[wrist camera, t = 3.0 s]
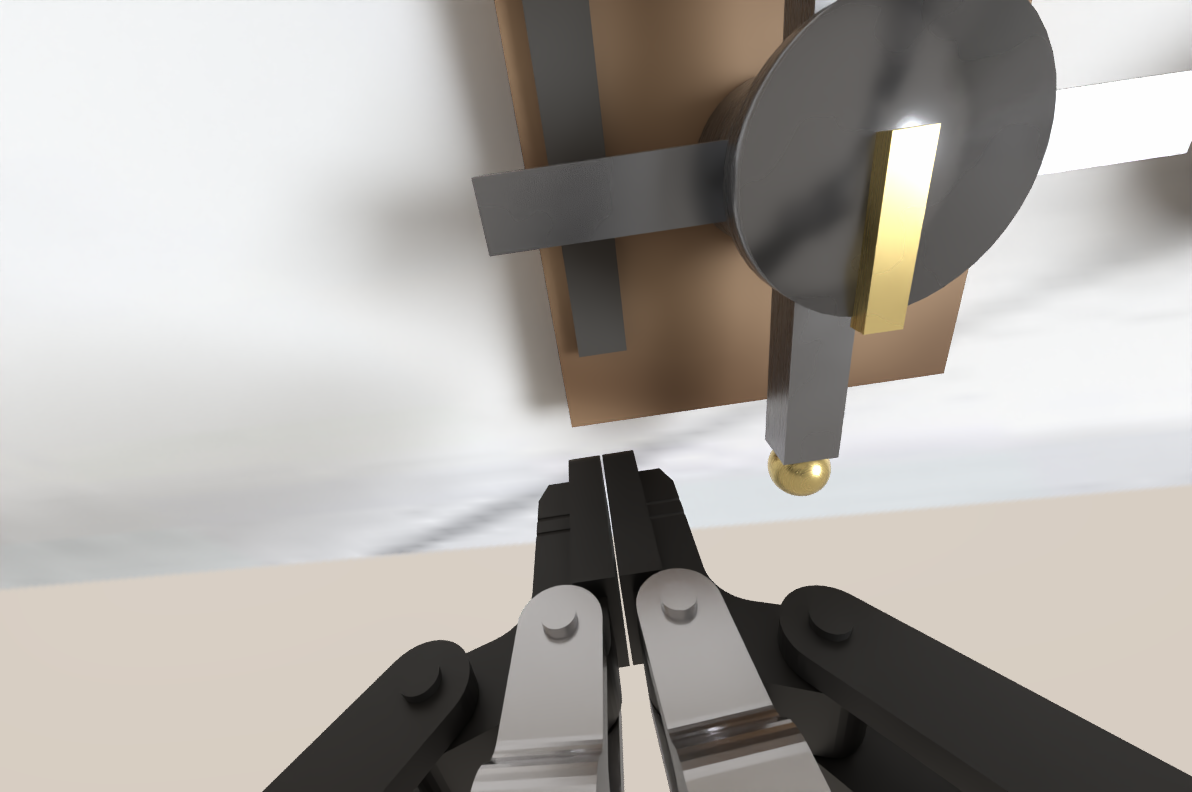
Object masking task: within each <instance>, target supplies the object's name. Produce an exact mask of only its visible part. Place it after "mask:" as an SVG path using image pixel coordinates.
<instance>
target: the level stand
mask: <svg viewBox="0 0 1192 792" xmlns="http://www.w3.org/2000/svg"><path fill="white" fill-rule="evenodd" d="M1028 1H1029V2H1030V3H1031V2H1032V0H1028ZM494 2H495V7H496V13H497V18H498V24H499V29H500V35H501V40H502V45H503V51H504V56H505V62H506V67H507V73H508V78H509V84H510V89H511V95H512V100H513V106H514V111H515V117H516V122H517V128H518V133H519V139H520V144H521V150H522V155H523V161H524V166H525V169H528V168H535V167H542V166H549V165H555V164H562V163H569V162H575V161H582V160H589V159H596V158H602V157H609V156H616V155H622V154H629V153H636V152H643V151H649V150H656V149H663V148H670V147H676V146H683V145H690V144H696V143H698V141H699V138H700V136H701V133H702V131H703V128H704V126H705V124H706V122H707V120H708V119H709V117H710V116H711V114H712V112H713V111H714V109H715V108H716V107H717V106H718V104H719V103H720V102H721V101H722V100H723V99H724V98H725V97H726V96H727V95H728V94H729V93H730V92H731V91H732V90H734V89H735V88H736V87H738V86H739V85H740V84H742V83H744V82H745V81H747V80H749V79H751V78H753V77H755V76H757V74H758V73H759V71H760V70H761V68H762V67H763V66H764V64H765V63H766V61H767V60H768V59H769V57H770V56H771V55H772V54H773V53H774V51H775V50H776V49H777V48H778V47H779V46H780V44H781V43H782V42H783V25H784V2H785V0H494ZM540 254H541V259H542V265H543V270H544V276H545V281H546V287H547V292H548V298H549V303H550V309H551V314H552V320H553V325H554V331H555V336H556V342H557V347H558V353H559V358H560V364H561V369H562V375H563V380H564V386H565V391H566V397H567V402H568V408H569V413H570V419H571V424H572V427H578V426H585V425H592V424H598V423H605V422H612V421H619V420H626V419H633V418H640V417H646V416H653V415H660V414H667V413H674V412H681V411H688V410H695V409H701V408H708V407H715V406H722V405H729V404H736V403H743V402H749V401H756V400H763V399H767V389H768V366H769V343H770V320H771V298H772V288H771V287H770V286H769V285H767V284H766V283H765V282H763V281H762V280H761V279H760V278H759V277H758V276H757V275H756V274H755V273H754V272H753V271H752V270H751V269H750V268H749V267H748V265H747V264H746V262H745V261H744V259H743V258H742V257H741V255H740V253H739V251H738V249H737V247H736V245H735V243H734V241H733V239H732V237H731V236H729V235H727V234H725V233H723V232H722V231H721V230H720V229H718V228H717V227H716V226H715V225H714V224H713V223H711V224H704V225H698V226H691V227H684V228H677V229H671V230H664V231H657V232H650V233H644V234H637V235H630V236H623V237H617V238H610V239H603V240H596V241H590V242H583V243H576V244H569V245H562V246H556V247H549V248H542V249H540ZM967 273H968V269H967V270H966V271H965V272H964V273H962V274H961V275H960V276H959V277H957V278H956V279H955V280H953V281H952V282H950V283H949V284H948V285H946V286H945V287H943V288H942V289H940V290H938V291H937V292H935V293H933V294H931V295H930V296H928V297H926V298H924V299H922V300H920V301H918V302H915V303H913V304H911V305H909V306H907V311H906V316H905V322H904V327H903V329H901V330H894V331H887V332H880V333H873V334H866V335H863V334H861V333H860V332H858V331H856V330H855V335H854V343H853V350H852V358H851V365H850V373H849V380H848V387H852V386H859V385H866V384H873V383H880V382H887V381H894V380H901V379H907V378H914V377H921V376H928V375H935V374H942V373H944V370H945V366H946V361H947V357H948V353H949V349H950V344H951V340H952V336H953V332H954V328H955V323H956V319H957V315H958V311H959V306H960V302H961V298H962V294H963V290H964V285H965V281H966V277H967Z"/></svg>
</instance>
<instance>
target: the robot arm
mask: <svg viewBox="0 0 1192 792" xmlns="http://www.w3.org/2000/svg"><path fill="white" fill-rule="evenodd" d="M602 457H603V464H604V471H605V478H606V486H607V493H608V500H609V507H610V514H611V522H612V529H613V536H614V543H615V550H616V557H617V565H618V572H619V578H620V584H621V591H622V598H623V604H624V610H625V616H626V623H627V629H628V635H629V642H630V648H631V654H632V661H633V665H637V664H644V669H645V675H646V680H647V687H648V693H649V700H650V707H651V713H652V717H653V721H654V725H655V729H656V733H657V738H658V742H659V746H660V751H661V755H662V759H663V763H664V767H665V772H666V776H667V780H668V784H669V789H670V792H1192V776H1190V775H1188V774H1186V773H1184V772H1182V771H1181V770H1179V769H1177V768H1175V767H1173V766H1171V765H1169V764H1167V763H1165V762H1164V761H1162V760H1160V759H1158V758H1156V757H1154V756H1152V755H1151V754H1149V753H1147V752H1145V751H1143V750H1141V749H1139V748H1137V747H1136V746H1134V745H1132V744H1130V743H1128V742H1126V741H1124V740H1122V739H1121V738H1119V737H1117V736H1115V735H1113V734H1111V733H1109V732H1107V731H1105V730H1104V729H1101V728H1100V727H1098V726H1096V725H1094V724H1092V723H1091V722H1089V721H1087V720H1085V719H1083V718H1081V717H1079V716H1077V715H1076V714H1074V713H1072V712H1070V711H1068V710H1066V709H1064V708H1062V707H1060V706H1059V705H1057V704H1055V703H1053V702H1051V701H1049V700H1047V699H1045V698H1044V697H1042V696H1040V695H1038V694H1036V693H1034V692H1032V691H1031V690H1029V689H1027V688H1025V687H1023V686H1021V685H1019V684H1017V683H1016V682H1014V681H1012V680H1010V679H1008V678H1006V677H1004V676H1002V675H1001V674H999V673H997V672H995V671H993V670H991V669H989V668H987V667H985V666H984V665H982V664H980V663H978V662H976V661H974V660H972V659H971V658H969V657H967V656H965V655H963V654H961V653H959V652H957V651H955V650H954V649H952V648H950V647H948V646H946V645H944V644H942V643H940V642H939V641H937V640H935V639H933V638H931V637H929V636H927V635H925V634H924V633H922V632H920V631H918V630H916V629H914V628H912V627H910V626H908V625H907V624H905V623H903V622H901V621H899V620H897V619H895V618H893V617H892V616H890V615H888V614H886V613H884V612H882V611H880V610H878V609H877V608H874V607H873V606H871V605H869V604H867V603H865V602H864V601H862V600H860V599H858V598H856V597H854V596H852V595H850V594H848V593H846V592H844V591H842V590H839V589H836V588H831V587H827V586H818V585H817V586H816V585H815V586H806V587H801V588H799V589H796V590H794V591H793V592H791V593H789V594H788V595H787V597H785V599H784V601H783V602H782V604H781V605H778V604H771V603H763V602H756V601H750V600H745V599H741V598H738V597H735V596H733V595H731V594H729V593H727V592H725V591H724V590H722V589H721V588H719V587H718V586H717V585H716V584H715V583H714V582H713V581H712V580H711V579H710V578H709V576H708V575H707V573H706V571H705V569H704V567H703V564H702V562H701V559H700V556H699V553H698V550H697V547H696V545H695V541H694V539H693V536H692V533H691V530H690V527H689V524H688V522H687V519H686V516H685V515H684V510H683V507H682V505H681V502H680V500H679V496H678V493H677V490H676V488H675V485H674V482H673V480H672V479H670V478H669V477H668V476H667V475H666V474H665V473H664V472H663V471H662V470H660V469H659V468H658V469H652V470H645V471H638V468H637V464H636V460H635V456H634V452H633V450H631V451H624V452H618V453H611V454H604V455H602ZM626 666H630V665H629V658H628V650H627V643H626V635H625V628H624V620H623V613H622V606H621V599H620V591H619V584H618V576H617V569H616V561H615V554H614V546H613V539H612V532H611V525H610V518H609V511H608V505H607V499H606V492H605V486H604V480H603V473H602V467H601V461H600V455H599V456H592V457H585V458H579V459H572V460H569V482H566V483H560V484H553V485H549V486H548V487H547V489H546V491H545V492H544V494H543V496H542V497H541V499H540V500H539V506H538V522H537V537H536V551H535V565H534V580H533V593H532V599H531V600H530V601H529V603H528V604H527V605H526V606H525V608H524V609H523V611H522V613H521V615H520V617H519V621H518V624H517V625H516V626H515V627H514V628H512V629H511V630H510V631H509V632H508V633H506V634H504V635H503V636H501V637H499V638H498V639H496V640H494V641H492V642H489V643H487V644H485V645H483V646H481V647H479V648H477V649H474V650H473V651H470V652H468V653H465V651H464V650H463V649H462V648H461V647H460V646H459V645H457V644H456V643H454V642H450V641H445V640H437V641H431V642H426V643H424V644H421V645H418V646H416V647H414V648H413V649H411V650H409V651H408V652H406V653H405V654H403V655H402V656H401V657H400V658H399V659H398V660H396V661H395V662H394V663H393V664H392V665H391V666H390V667H389V668H388V669H387V670H386V671H385V672H384V673H383V674H382V675H381V676H380V677H379V678H378V679H377V680H376V681H375V682H374V683H373V684H372V685H371V686H370V687H369V688H368V689H367V690H366V691H365V692H364V693H363V694H362V695H361V696H360V697H359V698H358V699H357V700H356V701H354V702H353V704H351V705H350V706H349V707H348V709H346V710H345V711H344V712H343V713H342V714H341V715H340V716H339V717H338V718H337V719H336V720H335V721H334V722H333V723H332V724H331V725H330V726H329V727H328V728H327V729H326V730H325V731H324V732H323V733H322V734H321V735H320V736H319V737H318V738H317V739H316V740H315V741H314V742H313V743H312V744H311V745H310V746H309V747H308V748H306V749H305V750H304V751H303V752H302V754H300V755H299V756H298V757H297V758H296V759H295V760H294V761H293V762H292V763H291V764H290V765H289V766H288V767H287V768H286V769H285V770H284V771H283V772H282V773H281V774H280V775H279V776H278V777H277V778H276V779H275V780H274V781H273V782H272V783H271V784H270V785H269V786H268V787H267V788H266V789H265V790H264V791H263V792H624V771H623V770H624V769H623V743H622V716H621V703H622V694H621V685H620V676H619V667H626Z"/></svg>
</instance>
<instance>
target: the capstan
mask: <svg viewBox="0 0 1192 792" xmlns="http://www.w3.org/2000/svg"><path fill="white" fill-rule="evenodd" d="M1191 141H1192V70H1190V71H1183V72H1175V73H1168V74H1161V75H1154V76H1147V77H1140V78H1133V79H1126V80H1120V81H1113V82H1106V83H1099V84H1093V85H1086V86H1079V87H1073V88H1066V89H1059V90H1056V69H1055V63H1054V56H1053V50H1052V47H1051V44H1050V41H1049V37H1048V34H1047V31H1046V29H1045V27H1044V25H1043V23H1042V21H1041V19H1040V17H1039V15H1038V13H1037V11H1036V10H1035V9H1034V7H1033V6H1032V5H1031V3H1030V2H1029V1H1028V0H785V2H784V25H783V42H782V43H781V44H780V46H779V47H778V48H777V49H776V50H775V51H774V53H773V54H772V55H771V56H770V57H769V59H768V60H767V61H766V63H765V64H764V66H763V67H762V68H761V70H760V71H759V73H758V74H757V76H755V77H753V78H751V79H749V80H747V81H745V82H744V83H742V84H740V85H739V86H738V87H736V88H735V89H734V90H732V91H731V92H730V93H729V94H728V95H727V96H726V97H725V98H724V99H723V100H722V101H721V102H720V103H719V104H718V106H717V107H716V108H715V109H714V111H713V112H712V114H711V116H710V117H709V119H708V120H707V122H706V124H705V126H704V128H703V131H702V133H701V136H700V138H699V141H698V143H696V144H690V145H683V146H676V147H670V148H663V149H656V150H649V151H643V152H636V153H629V154H622V155H616V156H609V157H602V158H596V159H589V160H582V161H575V162H569V163H562V164H555V165H549V166H542V167H535V168H528V169H522V170H515V171H508V172H502V173H495V174H488V175H482V176H477V177H473V178H472V182H473V186H474V190H475V195H476V199H477V203H478V208H479V212H480V216H481V220H482V225H483V229H484V233H485V238H486V242H487V246H488V251H489V255H490V256H495V255H502V254H508V253H515V252H522V251H529V250H535V249H542V248H549V247H556V246H562V245H569V244H576V243H583V242H590V241H596V240H603V239H610V238H617V237H623V236H630V235H637V234H644V233H650V232H657V231H664V230H671V229H677V228H684V227H691V226H698V225H704V224H711V223H713V224H714V225H715V226H716V227H717V228H718V229H720V230H721V231H722V232H723V233H725V234H727V235H729V236H731V237H732V239H733V241H734V243H735V245H736V247H737V249H738V251H739V253H740V255H741V257H742V258H743V259H744V261H745V262H746V264H747V265H748V267H749V268H750V269H751V270H752V271H753V272H754V273H755V274H756V275H757V276H758V277H759V278H760V279H761V280H762V281H763V282H765V283H766V284H767V285H769V286H770V287H771V288H772V298H771V320H770V343H769V366H768V389H767V411H766V434H765V440H766V441H767V442H768V444H769V445H770V447H771V448H772V449H773V450H772V452H771V453H770V456H769V459H768V471H769V475H770V477H771V479H772V481H773V482H774V483H775V485H776V486H777V487H779V488H780V489H781V490H783V491H784V492H786V493H788V494H791V495H796V496H807V495H811V494H814V493H816V492H818V491H819V490H821V489H822V488H823V487H824V486H825V485H826V483H827V481H828V479H829V477H830V473H831V464H830V460H829V459H830V458H837V457H838V455H839V448H840V440H841V433H842V425H843V418H844V410H845V403H846V395H847V388H848V380H849V373H850V365H851V358H852V350H853V343H854V335H855V330H856V331H858V332H860V333H861V334H863V335H866V334H873V333H880V332H887V331H894V330H901V329H903V327H904V322H905V316H906V311H907V306H909V305H911V304H913V303H915V302H918V301H920V300H922V299H924V298H926V297H928V296H930V295H931V294H933V293H935V292H937V291H938V290H940V289H942V288H943V287H945V286H946V285H948V284H949V283H950V282H952V281H953V280H955V279H956V278H957V277H959V276H960V275H961V274H962V273H964V272H965V271H966V270H967V269H968V268H970V267H971V266H972V265H973V264H974V263H975V262H976V261H977V260H978V259H979V258H980V257H981V256H982V255H983V254H984V253H985V252H986V251H987V250H988V249H989V248H990V247H991V246H992V245H993V244H994V243H995V241H996V240H997V239H998V238H999V237H1000V235H1001V234H1002V233H1003V232H1004V230H1005V229H1006V228H1007V227H1008V225H1009V224H1010V222H1011V221H1012V219H1013V218H1014V216H1015V215H1016V213H1017V212H1018V210H1019V209H1020V207H1021V205H1022V204H1023V202H1024V200H1025V198H1026V197H1027V195H1028V193H1029V191H1030V189H1031V188H1032V185H1033V183H1034V181H1035V179H1036V176H1037V175H1043V174H1049V173H1056V172H1063V171H1070V170H1076V169H1083V168H1090V167H1097V166H1104V165H1110V164H1117V163H1124V162H1131V161H1137V160H1144V159H1151V158H1158V157H1164V156H1171V155H1178V154H1185V153H1187V151H1188V149H1189V146H1190V144H1191Z"/></svg>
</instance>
